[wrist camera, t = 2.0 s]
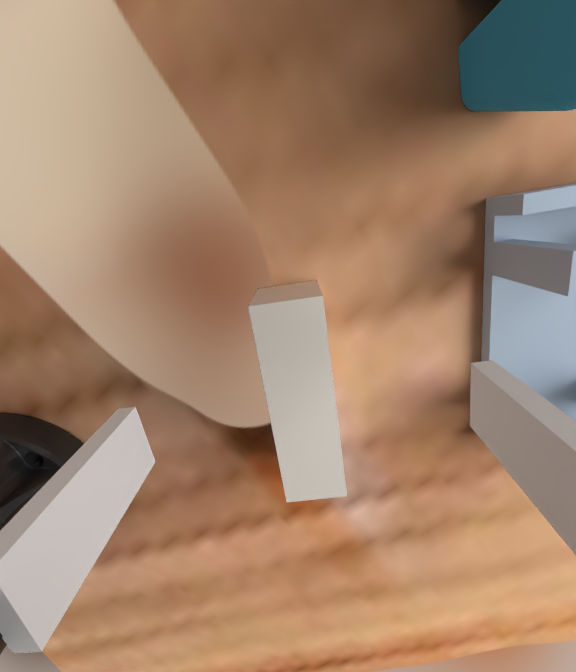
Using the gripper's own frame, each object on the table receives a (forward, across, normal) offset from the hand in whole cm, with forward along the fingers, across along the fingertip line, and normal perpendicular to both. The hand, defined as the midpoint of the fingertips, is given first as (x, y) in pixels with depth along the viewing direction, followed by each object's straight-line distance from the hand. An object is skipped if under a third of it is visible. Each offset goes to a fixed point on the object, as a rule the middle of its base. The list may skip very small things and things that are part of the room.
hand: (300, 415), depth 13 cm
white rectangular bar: (+11, 0, -3) cm, 11 cm away
